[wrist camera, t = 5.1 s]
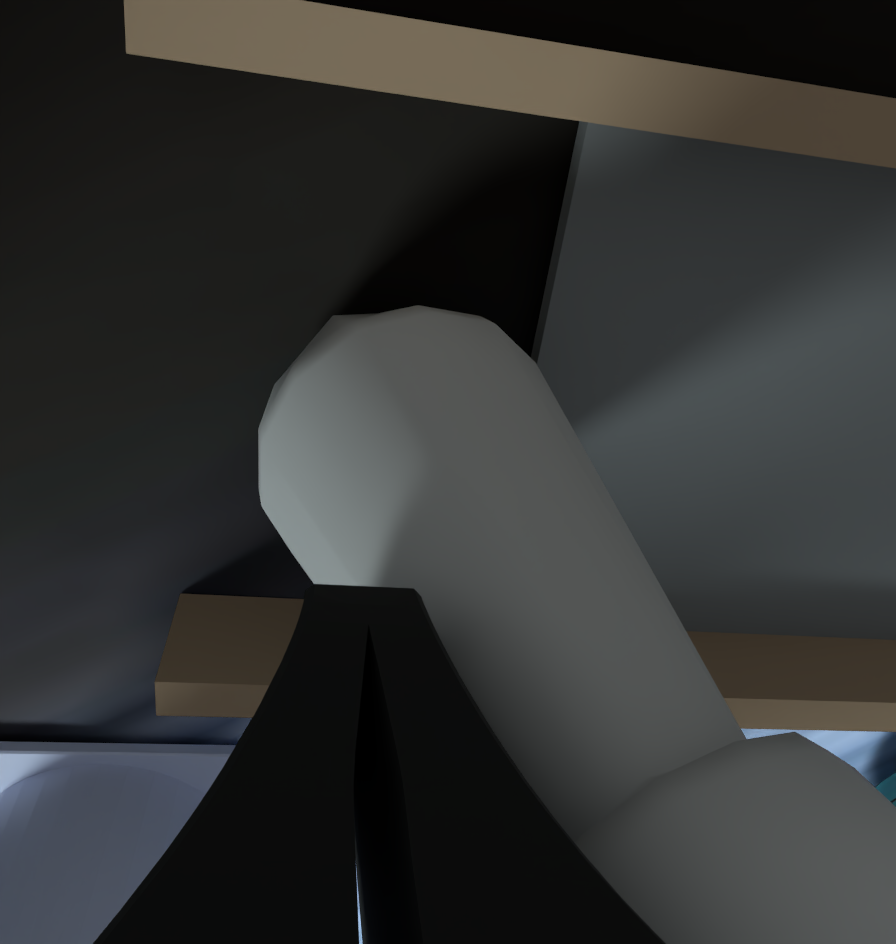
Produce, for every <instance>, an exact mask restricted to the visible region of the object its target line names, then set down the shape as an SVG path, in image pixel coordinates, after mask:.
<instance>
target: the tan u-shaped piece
mask: <svg viewBox="0 0 896 944" xmlns="http://www.w3.org/2000/svg"><path fill="white" fill-rule="evenodd" d="M124 15H125V37H126V53H127V54H134V55H140V56H147V57H154V58H160V59H167V60H174V61H180V62H187V63H194V64H200V65H207V66H214V67H221V68H227V69H234V70H241V71H247V72H254V73H261V74H267V75H274V76H281V77H288V78H294V79H301V80H308V81H314V82H321V83H328V84H334V85H341V86H348V87H354V88H361V89H368V90H375V91H381V92H388V93H395V94H401V95H408V96H415V97H421V98H428V99H435V100H441V101H448V102H455V103H462V104H468V105H475V106H482V107H488V108H495V109H502V110H508V111H515V112H522V113H529V114H535V115H542V116H549V117H555V118H562V119H569V120H575V121H579V126H578V131H577V135H576V140H575V145H574V150H573V155H572V160H571V165H570V169H569V174H568V179H567V184H566V189H565V194H564V198H563V203H562V208H561V213H560V218H559V223H558V228H557V232H556V237H555V242H554V247H553V252H552V257H551V262H550V266H549V271H548V276H547V281H546V286H545V291H544V296H543V300H542V305H541V310H540V315H539V320H538V325H537V329H536V334H535V339H534V344H533V349H532V354H531V359H532V360H533V361H535V362H536V364H537V366H538V368H539V369H540V371H541V373H542V375H543V377H544V378H545V380H546V382H547V384H548V385H549V387H550V389H551V391H552V393H553V394H554V396H555V398H556V400H557V402H558V403H559V405H560V407H561V409H562V410H563V412H564V414H565V416H566V418H567V419H568V421H569V423H570V425H571V427H572V428H573V430H574V432H575V434H576V435H577V437H578V439H579V441H580V443H581V444H582V446H583V448H584V450H585V452H586V453H587V455H588V457H589V459H590V460H591V462H592V464H593V466H594V468H595V469H596V471H597V473H598V475H599V477H600V478H601V480H602V482H603V484H604V485H605V487H606V489H607V491H608V493H609V494H610V496H611V498H612V500H613V502H614V503H615V505H616V507H617V509H618V511H619V512H620V514H621V516H622V518H623V519H624V521H625V523H626V525H627V527H628V528H629V530H630V532H631V534H632V536H633V537H634V539H635V541H636V543H637V544H638V546H639V548H640V550H641V552H642V553H643V555H644V557H645V559H646V561H647V562H648V564H649V566H650V568H651V569H652V571H653V573H654V575H655V577H656V578H657V580H658V582H659V584H660V586H661V587H662V589H663V591H664V593H665V594H666V596H667V598H668V600H669V602H670V603H671V605H672V607H673V609H674V611H675V612H676V614H677V616H678V618H679V619H680V621H681V623H682V625H683V627H684V628H685V630H686V632H687V634H688V636H689V637H690V639H691V641H692V643H693V645H694V646H695V648H696V650H697V652H698V653H699V655H700V657H701V659H702V661H703V662H704V664H705V666H706V668H707V670H708V671H709V673H710V675H711V677H712V678H713V680H714V682H715V684H716V686H717V687H718V689H719V691H720V693H721V695H722V696H723V698H724V700H725V702H726V703H727V705H728V707H729V709H730V711H731V712H732V714H733V716H734V718H735V720H736V721H737V723H738V725H739V727H740V728H745V729H790V730H836V731H882V732H896V98H890V97H884V96H878V95H872V94H866V93H860V92H853V91H847V90H841V89H835V88H829V87H823V86H817V85H811V84H805V83H799V82H793V81H787V80H781V79H775V78H769V77H763V76H757V75H751V74H744V73H738V72H732V71H726V70H720V69H714V68H708V67H702V66H696V65H690V64H684V63H678V62H672V61H666V60H660V59H654V58H648V57H642V56H636V55H629V54H623V53H617V52H611V51H605V50H599V49H593V48H587V47H581V46H575V45H569V44H563V43H557V42H551V41H545V40H539V39H533V38H527V37H520V36H514V35H508V34H502V33H496V32H490V31H484V30H478V29H472V28H466V27H460V26H454V25H448V24H442V23H436V22H430V21H424V20H418V19H412V18H405V17H399V16H393V15H387V14H381V13H375V12H369V11H363V10H357V9H351V8H345V7H339V6H333V5H327V4H321V3H315V2H309V1H303V0H124ZM303 601H304V599H289V598H267V597H245V596H223V595H201V594H180V596H179V600H178V603H177V607H176V610H175V613H174V617H173V620H172V624H171V627H170V631H169V634H168V638H167V641H166V645H165V648H164V651H163V655H162V658H161V662H160V665H159V669H158V672H157V676H156V679H155V700H156V716H197V717H242V718H253V716H254V714H255V712H256V710H257V709H258V707H259V705H260V703H261V701H262V699H263V697H264V695H265V693H266V691H267V689H268V687H269V685H270V683H271V681H272V679H273V677H274V675H275V673H276V671H277V669H278V667H279V665H280V663H281V661H282V659H283V657H284V654H285V652H286V650H287V647H288V645H289V643H290V640H291V638H292V635H293V633H294V630H295V628H296V625H297V622H298V619H299V616H300V612H301V609H302V606H303Z"/></svg>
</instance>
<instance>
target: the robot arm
mask: <svg viewBox="0 0 896 944" xmlns="http://www.w3.org/2000/svg"><path fill="white" fill-rule="evenodd" d="M356 868H357V880H358V892H359V904H360V916H361V928H362V940H363V944H666V943H665V942H664V941H663V940H662V939H661V938H660V937H659V936H658V935H657V934H656V933H655V932H654V931H653V930H652V929H651V928H650V927H649V926H648V925H647V924H646V923H645V922H644V921H643V920H642V919H641V917H640V916H639V915H638V914H637V913H636V912H635V911H634V910H633V909H632V908H631V907H630V906H629V905H628V904H627V903H626V902H625V901H624V900H623V899H622V898H621V896H620V895H619V894H618V893H617V892H616V891H615V890H614V889H613V887H612V886H611V885H610V884H609V883H608V882H607V880H606V879H605V878H604V877H603V876H602V875H601V873H600V872H599V871H598V870H597V869H596V868H595V867H594V865H593V864H592V863H591V862H590V861H589V860H588V858H587V857H586V856H585V855H584V854H583V853H582V851H581V850H580V849H579V848H578V846H577V845H576V844H575V843H574V841H573V840H572V839H571V838H570V836H569V835H568V834H567V833H566V832H565V830H564V829H563V828H562V827H561V825H560V824H559V823H558V822H557V820H556V819H555V818H554V817H553V815H552V814H551V813H550V811H549V810H548V809H547V807H546V806H545V805H544V803H543V802H542V801H541V799H540V798H539V797H538V795H537V794H536V793H535V791H534V790H533V789H532V787H531V786H530V784H529V783H528V782H527V780H526V779H525V777H524V776H523V775H522V773H521V772H520V770H519V769H518V767H517V766H516V764H515V763H514V761H513V760H512V759H511V757H510V756H509V754H508V753H507V751H506V750H505V748H504V747H503V745H502V744H501V742H500V741H499V739H498V738H497V736H496V735H495V733H494V732H493V730H492V728H491V727H490V725H489V724H488V722H487V721H486V719H485V717H484V716H483V714H482V712H481V711H480V709H479V707H478V706H477V704H476V702H475V701H474V699H473V697H472V696H471V694H470V692H469V691H468V689H467V687H466V686H465V684H464V682H463V680H462V679H461V677H460V675H459V673H458V672H457V670H456V668H455V666H454V664H453V662H452V660H451V659H450V657H449V655H448V653H447V651H446V649H445V647H444V645H443V643H442V641H441V639H440V637H439V635H438V633H437V631H436V629H435V627H434V625H433V623H432V621H431V619H430V616H429V614H428V612H427V609H426V607H425V605H424V602H423V600H422V597H421V596H420V595H419V594H418V592H417V591H416V590H415V589H414V588H394V587H373V586H351V585H329V584H314V585H313V586H312V587H310V588H309V589H307V590H306V591H305V595H304V601H303V606H302V609H301V612H300V616H299V619H298V622H297V625H296V628H295V630H294V633H293V635H292V638H291V640H290V643H289V645H288V647H287V650H286V652H285V654H284V657H283V659H282V661H281V663H280V665H279V667H278V669H277V671H276V673H275V675H274V677H273V679H272V681H271V683H270V685H269V687H268V689H267V691H266V693H265V695H264V697H263V699H262V701H261V703H260V705H259V707H258V709H257V710H256V712H255V714H254V716H253V718H252V719H251V721H250V723H249V724H248V726H247V728H246V729H245V731H244V733H243V735H242V736H241V738H240V740H239V741H238V743H237V745H193V744H132V743H71V742H10V741H0V944H359V932H358V907H357V882H356Z"/></svg>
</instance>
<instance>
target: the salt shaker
mask: <svg viewBox="0 0 896 944" xmlns="http://www.w3.org/2000/svg"><path fill="white" fill-rule="evenodd" d="M258 447H259V493H260V500H261V506H262V508H263V509H264V511H265V513H266V514H267V516H268V517H269V519H270V520H271V522H272V523H273V525H274V526H275V528H276V530H277V531H278V533H279V534H280V536H281V537H282V539H283V540H284V542H285V543H286V545H287V547H288V548H289V550H290V551H291V553H292V554H293V555H294V557H295V558H296V560H297V561H298V562H299V564H300V565H301V567H302V568H303V569H304V571H305V572H306V573H307V575H308V576H309V578H310V579H311V580H312V582H313V583H314V584H329V585H351V586H373V587H394V588H414V589H415V590H416V591H417V592H418V594H419V595H420V596H421V597H422V600H423V602H424V605H425V607H426V609H427V612H428V614H429V616H430V619H431V621H432V623H433V625H434V627H435V629H436V631H437V633H438V635H439V637H440V639H441V641H442V643H443V645H444V647H445V649H446V651H447V653H448V655H449V657H450V659H451V660H452V662H453V664H454V666H455V668H456V670H457V672H458V673H459V675H460V677H461V679H462V680H463V682H464V684H465V686H466V687H467V689H468V691H469V692H470V694H471V696H472V697H473V699H474V701H475V702H476V704H477V706H478V707H479V709H480V711H481V712H482V714H483V716H484V717H485V719H486V721H487V722H488V724H489V725H490V727H491V728H492V730H493V732H494V733H495V735H496V736H497V738H498V739H499V741H500V742H501V744H502V745H503V747H504V748H505V750H506V751H507V753H508V754H509V756H510V757H511V759H512V760H513V761H514V763H515V764H516V766H517V767H518V769H519V770H520V772H521V773H522V775H523V776H524V777H525V779H526V780H527V782H528V783H529V784H530V786H531V787H532V789H533V790H534V791H535V793H536V794H537V795H538V797H539V798H540V799H541V801H542V802H543V803H544V805H545V806H546V807H547V809H548V810H549V811H550V813H551V814H552V815H553V817H554V818H555V819H556V820H557V822H558V823H559V824H560V825H561V827H562V828H563V829H564V830H565V832H566V833H567V834H568V835H569V836H570V838H571V839H572V840H573V841H574V843H575V844H576V845H577V846H578V848H579V849H580V850H581V851H582V853H583V854H584V855H585V856H586V857H587V858H588V860H589V861H590V862H591V863H592V864H593V865H594V867H595V868H596V869H597V870H598V871H599V872H600V873H601V875H602V876H603V877H604V878H605V879H606V880H607V882H608V883H609V884H610V885H611V886H612V887H613V889H614V890H615V891H616V892H617V893H618V894H619V895H620V896H621V898H622V899H623V900H624V901H625V902H626V903H627V904H628V905H629V906H630V907H631V908H632V909H633V910H634V911H635V912H636V913H637V914H638V915H639V916H640V917H641V919H642V920H643V921H644V922H645V923H646V924H647V925H648V926H649V927H650V928H651V929H652V930H653V931H654V932H655V933H656V934H657V935H658V936H659V937H660V938H661V939H662V940H663V941H664V942H665V943H666V944H896V807H895V806H894V805H893V804H892V803H891V802H890V801H889V800H888V799H887V798H886V797H885V796H884V795H883V794H881V793H880V792H879V791H878V790H877V789H876V788H875V787H874V786H873V785H872V784H871V783H870V782H869V781H868V780H867V779H866V778H865V777H863V776H862V775H861V774H860V773H859V772H858V771H857V770H856V769H855V768H854V767H852V766H851V765H849V764H848V763H846V762H844V761H843V760H841V759H840V758H838V757H837V756H835V755H834V754H832V753H831V752H829V751H828V750H826V749H824V748H822V747H821V746H819V745H817V744H815V743H814V742H812V741H810V740H808V739H807V738H805V737H803V736H801V735H800V734H798V733H796V732H790V733H784V734H778V735H771V736H765V737H759V738H753V739H746V737H745V736H744V734H743V732H742V730H741V728H740V727H739V725H738V723H737V721H736V720H735V718H734V716H733V714H732V712H731V711H730V709H729V707H728V705H727V703H726V702H725V700H724V698H723V696H722V695H721V693H720V691H719V689H718V687H717V686H716V684H715V682H714V680H713V678H712V677H711V675H710V673H709V671H708V670H707V668H706V666H705V664H704V662H703V661H702V659H701V657H700V655H699V653H698V652H697V650H696V648H695V646H694V645H693V643H692V641H691V639H690V637H689V636H688V634H687V632H686V630H685V628H684V627H683V625H682V623H681V621H680V619H679V618H678V616H677V614H676V612H675V611H674V609H673V607H672V605H671V603H670V602H669V600H668V598H667V596H666V594H665V593H664V591H663V589H662V587H661V586H660V584H659V582H658V580H657V578H656V577H655V575H654V573H653V571H652V569H651V568H650V566H649V564H648V562H647V561H646V559H645V557H644V555H643V553H642V552H641V550H640V548H639V546H638V544H637V543H636V541H635V539H634V537H633V536H632V534H631V532H630V530H629V528H628V527H627V525H626V523H625V521H624V519H623V518H622V516H621V514H620V512H619V511H618V509H617V507H616V505H615V503H614V502H613V500H612V498H611V496H610V494H609V493H608V491H607V489H606V487H605V485H604V484H603V482H602V480H601V478H600V477H599V475H598V473H597V471H596V469H595V468H594V466H593V464H592V462H591V460H590V459H589V457H588V455H587V453H586V452H585V450H584V448H583V446H582V444H581V443H580V441H579V439H578V437H577V435H576V434H575V432H574V430H573V428H572V427H571V425H570V423H569V421H568V419H567V418H566V416H565V414H564V412H563V410H562V409H561V407H560V405H559V403H558V402H557V400H556V398H555V396H554V394H553V393H552V391H551V389H550V387H549V385H548V384H547V382H546V380H545V378H544V377H543V375H542V373H541V371H540V369H539V368H538V366H537V364H536V362H535V361H533V360H532V359H531V358H530V357H529V356H528V355H527V354H526V353H525V352H524V351H523V350H522V349H521V348H520V347H519V346H518V345H517V344H516V343H515V342H514V341H513V340H512V339H511V338H510V337H509V336H508V335H507V334H506V333H505V332H504V331H502V330H501V329H500V328H499V327H498V326H497V325H496V324H495V323H493V322H491V321H489V320H487V319H485V318H483V317H481V316H477V315H472V314H466V313H460V312H454V311H448V310H443V309H437V308H431V307H425V306H420V305H416V306H411V307H406V308H401V309H397V310H392V311H387V312H382V313H377V314H355V315H333V316H332V317H331V318H330V319H329V321H328V322H327V323H326V324H325V325H324V326H323V328H322V329H321V330H320V331H319V332H318V334H317V335H316V336H315V337H314V338H313V339H312V341H311V342H310V343H309V344H308V345H307V347H306V348H305V349H304V350H303V351H302V352H301V354H300V355H299V356H298V357H297V358H296V360H295V361H294V362H293V363H292V364H291V366H290V367H289V368H288V369H287V370H286V371H285V373H284V374H283V375H282V376H281V377H280V379H279V380H278V381H277V382H276V383H275V384H274V387H273V390H272V392H271V395H270V398H269V401H268V404H267V406H266V409H265V412H264V415H263V417H262V420H261V423H260V426H259V429H258Z"/></svg>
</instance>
